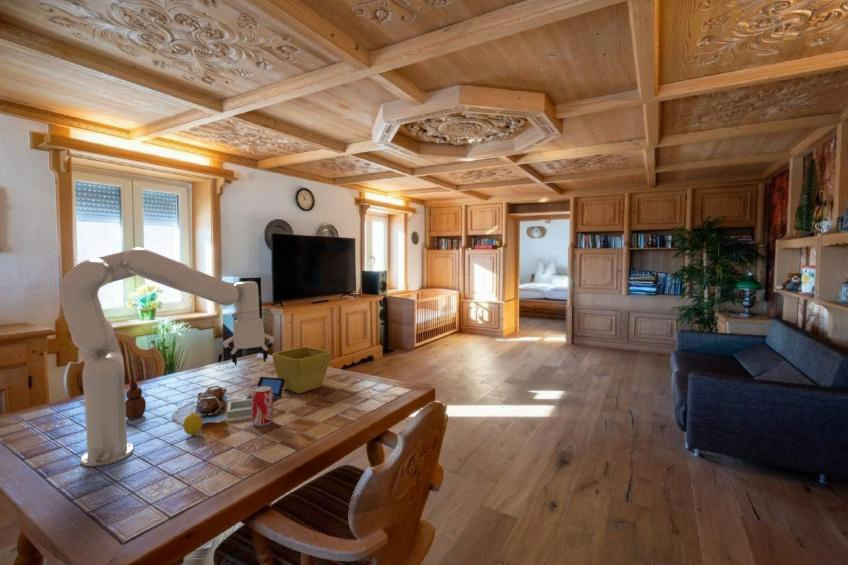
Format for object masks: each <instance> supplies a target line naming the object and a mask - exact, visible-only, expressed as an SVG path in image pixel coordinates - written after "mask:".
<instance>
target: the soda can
mask: <svg viewBox="0 0 848 565" xmlns="http://www.w3.org/2000/svg"><path fill="white" fill-rule="evenodd" d="M251 395H252V419H251V423H252V424H253V426H255V427H265V425H266V426H269V425H270V424H271V423H272V422H273V420H274V407H273V406H274V402H273V392H272V390H271V387H270V386H259V387H257V386H256V387H254V388H252V392H251Z"/></svg>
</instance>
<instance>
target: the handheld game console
mask: <svg viewBox="0 0 848 565" xmlns="http://www.w3.org/2000/svg"><path fill="white" fill-rule="evenodd" d="M284 383H285V379H282V378H278V377H271V376H270V377H269V376H261V377H260V378H259V379H258V382H257V385H256V387H259V386H270V387H271V390H272V392H273V401H274V400H275V401H277V400H278V399H277V398H279V397H280V398H282V393H283V390H284V389H283V386H284ZM280 398H279V399H280ZM246 399H252V394H251V395H249V396H248V397H246ZM246 399H245V400H246ZM276 399H277V400H276ZM275 401H274V402H275Z"/></svg>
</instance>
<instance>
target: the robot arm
mask: <svg viewBox="0 0 848 565" xmlns="http://www.w3.org/2000/svg"><path fill="white" fill-rule="evenodd" d="M136 276H137V277H140V278H142V279H146V280H149V281H152V282H154V283H158V284H160V285H163V286H166V287H167V288H172V289H174V290H176V291H178V292H179V291H180V292H184V293H187V294H190V295H194V296H195V297H196V296H197V297H199V298H202V299H204V300H207V301H210V302H213V303H216V304H219V305H221V306H224V307H225V306H226V307H228V306H231V305H234V304H235V308H236V309H235V310H236V311H235V313H231V318H235V320H234V322H233V333H232V334H233V336H231V337H229V338H228V339H226V340H224V341H223V342H222V345H223V347H224V348H225V350H226V351H227V352H229V353H230V354H231V358H232V359H231V360H232V361H231V362H232V363H234V366H237V365H238V361H237V360H238V359H237V358H238V357H237V351H238V350H241V349H242V350H243V349H253V348H262V356H263V357H262V360H263V362H264V363H265V362H266V360H267V359H269V356H268V350H269V349H270V348H271V347H272V346H273V344H274V342H275V340H276V338H275V337H274V336H272V335H269V334H267V333H265V330H264V324H263V319H262V317H261V318H260V305H259V304H260V301H259V300H260V299H259V285H258V283H257V281H251V280H250V281H248V280H247V281H239V282H227V281H224V280H222V279H220V278H216V277H215V276H212V275H209V274H207V273H204V272H202V271H200V270H197V269H196V268H193V267H192V266H190V265H187V264H184V263H182V262H179V261H177V260H175V259H171V258H169V257H167V256H165V255H162V254H159V253H157V252H155V251H151V250H149V249H147V248H142V247H134V248H130V249H128V250H124V251H120V252H117V253H112V254H109V255H104V256H99V257H95V258H89V259H85V260H83V261H81V262H79V263H78V264H76V265H75V266H73V267H72V268H71V269H70V270H69V271H67V272H66V273H65V275H64V276H63V278H62V279H61V281H60V284H59V286H58V297H59V302H60V305H61V307H62V311H63V314H64V319H65V321H66V324H67V326H68V330H69V332H70V337H71V340H72V343H73V344H74V346H75V347H76V348H77V349H78V350H79V352H80V354H81V357H82V360H83V363H84V366H83V369H82V386H83V397H84V399H83V400H84V410H85V412H84V414H85V427H86V428H85V429H86V430H85V432H86V447H87V450H86V451H87V452H86V453H84V454H83V455H82V456H81V458H80V463H81V465H82V466H86V467H100V466H106V465H110V464H113V463H116V462H118V461H121V460H123V459H126V458H127V457H129V456H130V455H131V454H132V453H134V448H135V447H134V445H133V444H131V443H128V434H127V432H128V430H127V417H126V406H125V402H126V392H125V390H126V388H125V362H124V356H123V354H122V350H121V347H120V345H119V341H118V339H117V337H116V334H115V331H114V330H115V329H114V327H113V325H112V323H111V322H110V321H109V320H108V319H106V317H105V314H104V310H103V308H102V305H101V300H100V299H99V290H100V289H101V288H102V287H105V286H106V285H108V284H111V283H114V282H118V281H122V280H124V279H128V278H133V277H136ZM265 339H267V340H269V342H268V343H267V344H265V341H266V340H265ZM231 342H233V347H231V346H230V345H229V344H230V343H231Z"/></svg>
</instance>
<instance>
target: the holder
mask: <svg viewBox="0 0 848 565" xmlns="http://www.w3.org/2000/svg"><path fill="white" fill-rule="evenodd" d="M250 418H252V399H237V400H232V401H230V400H229V401H228V404H227V409H226V422H227V421H231V422H236V421H235V420H238V421H244V420H243V419H245V420H251V419H250Z"/></svg>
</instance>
